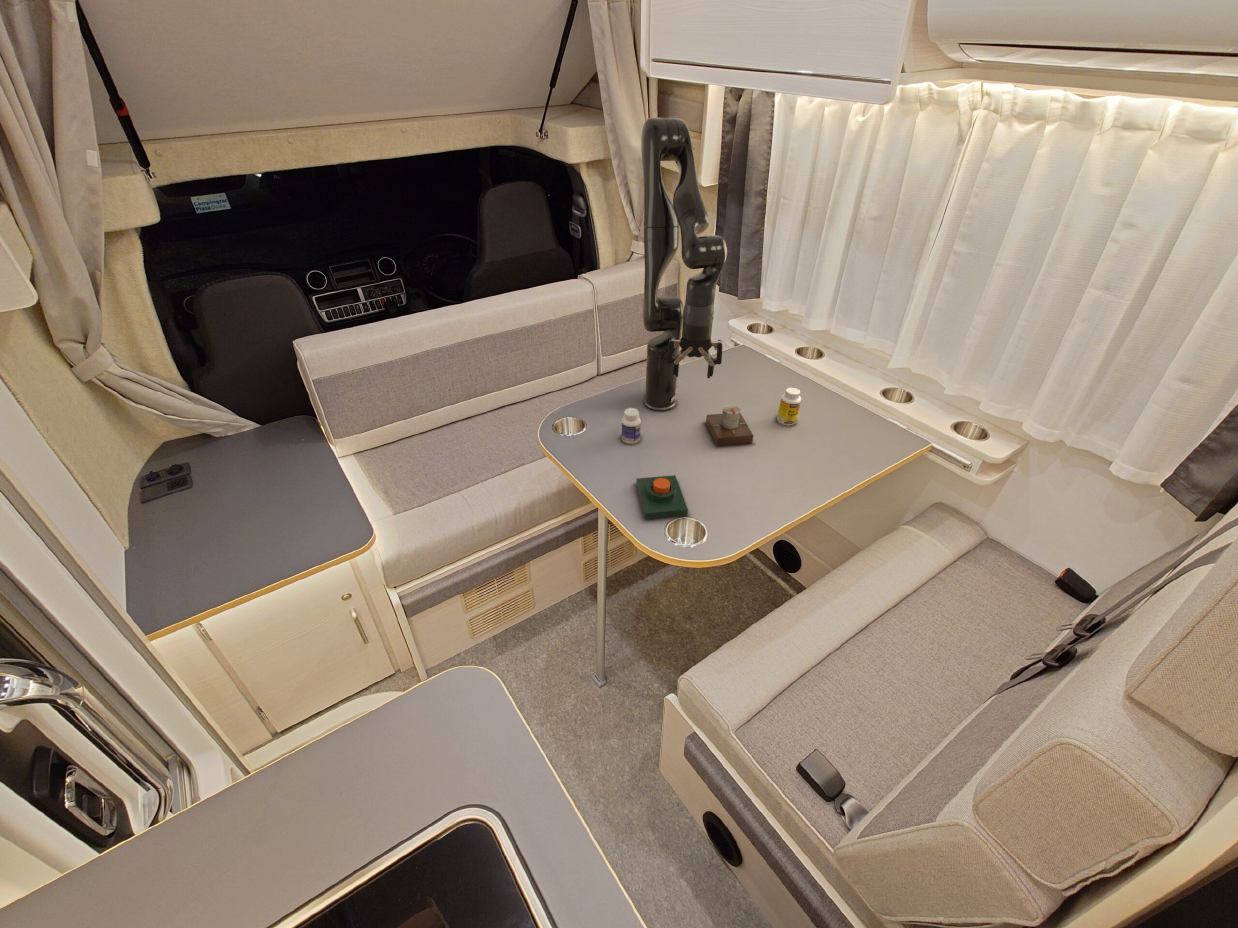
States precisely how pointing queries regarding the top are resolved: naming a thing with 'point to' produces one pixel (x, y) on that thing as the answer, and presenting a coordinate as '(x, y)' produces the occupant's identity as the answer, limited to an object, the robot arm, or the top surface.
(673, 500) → the switch block
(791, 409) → the supplement bottle
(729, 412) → the dial
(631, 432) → the pill bottle
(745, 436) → the dial panel
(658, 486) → the button
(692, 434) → the top surface
